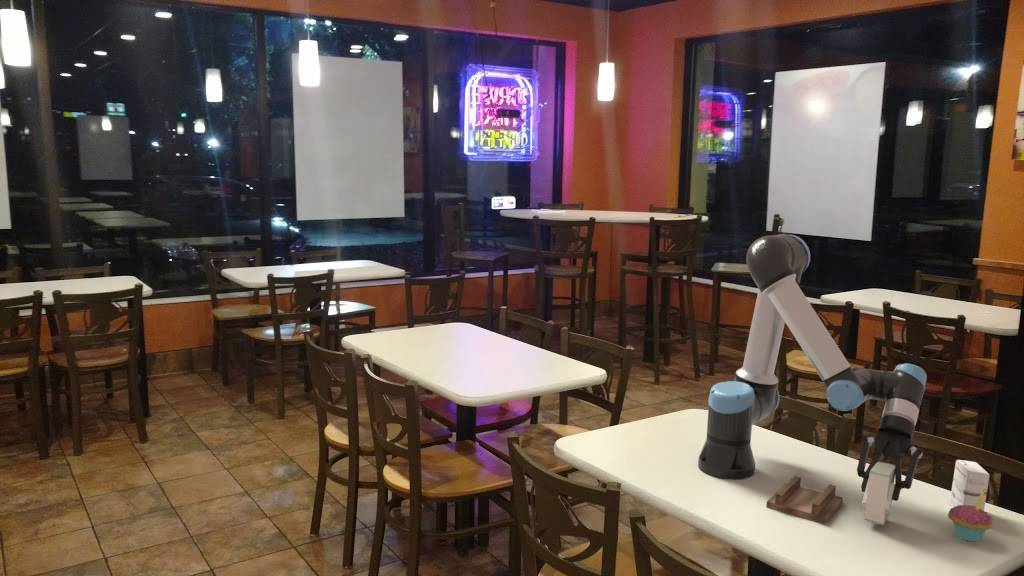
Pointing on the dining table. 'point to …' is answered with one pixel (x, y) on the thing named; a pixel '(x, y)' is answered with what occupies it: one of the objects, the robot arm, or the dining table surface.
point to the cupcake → (970, 520)
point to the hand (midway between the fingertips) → (875, 508)
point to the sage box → (879, 492)
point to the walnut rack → (806, 501)
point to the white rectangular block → (968, 484)
